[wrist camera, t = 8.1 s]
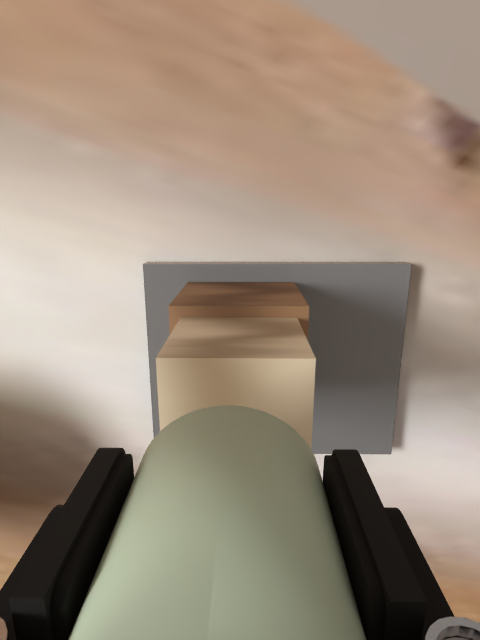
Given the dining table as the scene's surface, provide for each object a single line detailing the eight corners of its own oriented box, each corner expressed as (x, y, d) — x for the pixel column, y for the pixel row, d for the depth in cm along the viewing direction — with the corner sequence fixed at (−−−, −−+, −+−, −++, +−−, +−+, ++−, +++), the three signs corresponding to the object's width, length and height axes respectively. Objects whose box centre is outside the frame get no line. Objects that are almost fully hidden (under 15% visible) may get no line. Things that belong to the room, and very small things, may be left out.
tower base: (293, 281, 23) (309, 306, 18) (290, 380, 25) (303, 432, 19) (188, 281, 23) (168, 305, 18) (191, 379, 25) (174, 431, 19)
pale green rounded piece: (325, 405, 10) (441, 697, 4) (316, 562, 11) (395, 959, 5) (131, 404, 10) (-33, 691, 4) (144, 560, 11) (33, 951, 5)
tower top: (296, 317, 18) (315, 358, 13) (293, 422, 19) (309, 495, 14) (180, 317, 18) (155, 358, 13) (184, 421, 19) (163, 494, 14)
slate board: (404, 262, 24) (411, 264, 23) (385, 445, 27) (391, 454, 26) (147, 261, 24) (142, 264, 23) (158, 443, 27) (154, 452, 26)
